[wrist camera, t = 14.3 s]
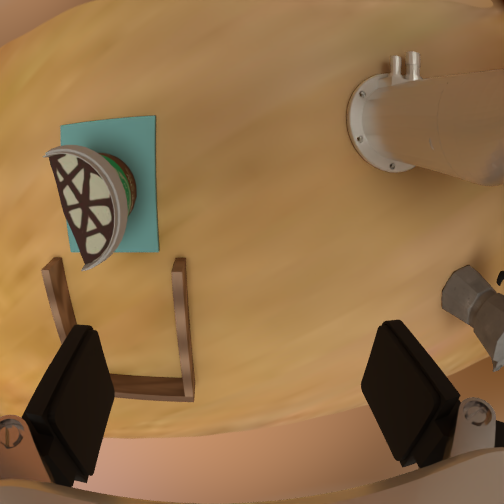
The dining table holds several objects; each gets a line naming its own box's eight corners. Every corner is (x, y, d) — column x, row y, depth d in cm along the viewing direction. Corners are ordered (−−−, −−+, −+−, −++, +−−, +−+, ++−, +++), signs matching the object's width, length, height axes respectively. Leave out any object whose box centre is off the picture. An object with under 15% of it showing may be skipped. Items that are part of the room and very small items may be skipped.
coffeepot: (464, 320, 48) (522, 378, 31) (429, 324, 47) (488, 392, 30) (491, 242, 42) (565, 288, 26) (456, 238, 41) (537, 291, 25)
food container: (159, 227, 36) (140, 261, 27) (113, 240, 36) (83, 276, 27) (130, 125, 31) (98, 125, 22) (83, 143, 31) (40, 151, 22)
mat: (62, 125, 31) (60, 125, 30) (156, 115, 32) (154, 115, 31) (72, 250, 36) (71, 252, 36) (159, 250, 38) (158, 252, 37)
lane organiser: (54, 257, 37) (41, 269, 33) (185, 258, 38) (181, 271, 35) (87, 376, 44) (80, 392, 40) (195, 383, 46) (194, 402, 42)
